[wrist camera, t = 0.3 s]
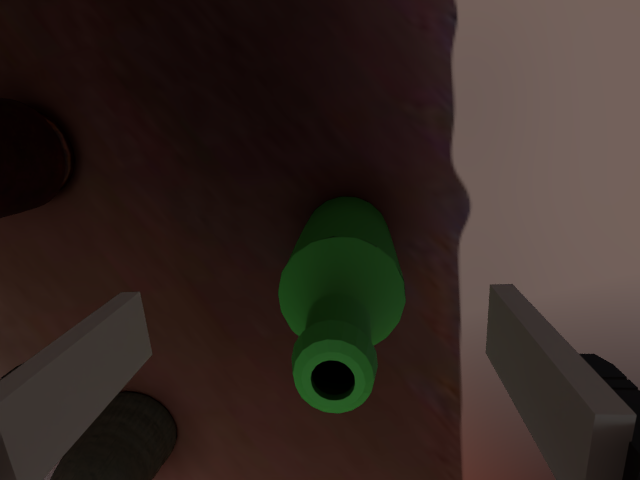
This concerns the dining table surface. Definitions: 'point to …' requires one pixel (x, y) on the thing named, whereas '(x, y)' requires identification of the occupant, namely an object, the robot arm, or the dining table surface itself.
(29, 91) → the dining table surface
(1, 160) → the vase
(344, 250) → the bottle
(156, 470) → the lamp
